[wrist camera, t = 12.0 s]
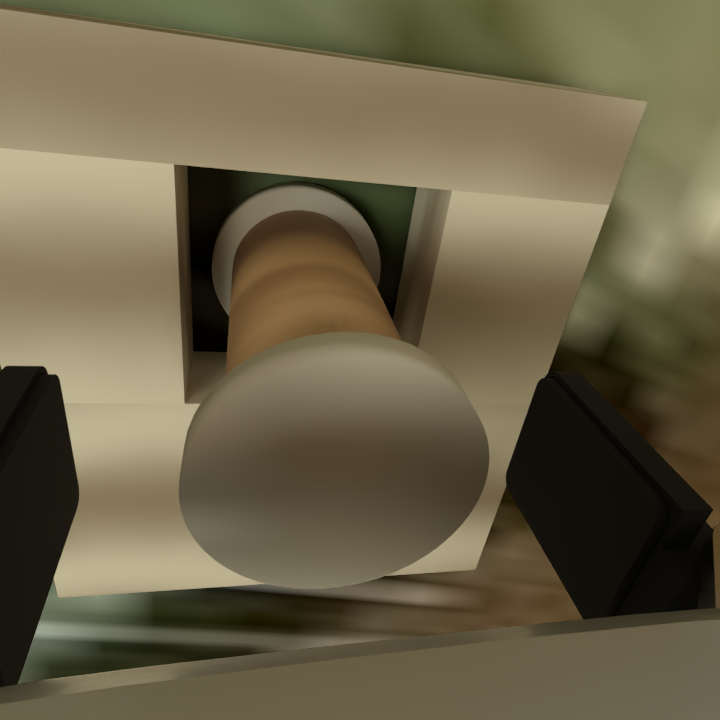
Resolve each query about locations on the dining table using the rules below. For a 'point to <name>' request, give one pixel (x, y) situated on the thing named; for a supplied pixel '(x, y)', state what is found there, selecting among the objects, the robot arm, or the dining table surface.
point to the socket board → (277, 156)
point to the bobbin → (321, 409)
